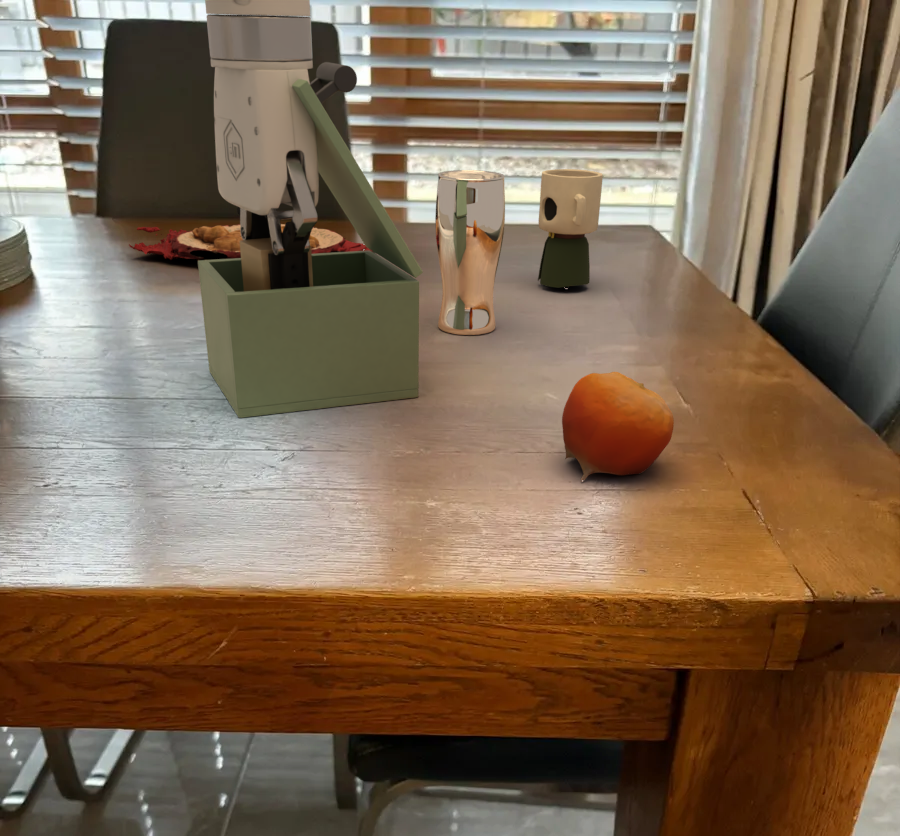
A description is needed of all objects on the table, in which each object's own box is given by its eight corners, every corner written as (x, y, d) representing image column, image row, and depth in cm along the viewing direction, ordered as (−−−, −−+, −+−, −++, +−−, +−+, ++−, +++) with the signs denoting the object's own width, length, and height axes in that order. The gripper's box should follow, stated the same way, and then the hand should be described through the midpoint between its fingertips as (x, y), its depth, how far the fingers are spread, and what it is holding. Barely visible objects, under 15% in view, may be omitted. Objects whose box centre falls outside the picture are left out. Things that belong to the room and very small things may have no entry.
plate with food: (295, 285, 118) (294, 256, 117) (129, 255, 127) (126, 227, 126) (389, 253, 137) (390, 227, 135) (238, 229, 146) (237, 204, 144)
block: (264, 307, 79) (260, 250, 77) (243, 294, 82) (239, 240, 80) (314, 300, 81) (311, 245, 79) (291, 289, 84) (288, 235, 82)
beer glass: (462, 340, 99) (467, 181, 92) (420, 325, 104) (421, 172, 96) (513, 329, 103) (521, 176, 95) (470, 315, 108) (475, 167, 100)
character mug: (525, 277, 124) (532, 166, 117) (579, 276, 125) (589, 166, 118) (545, 298, 115) (553, 179, 108) (603, 297, 116) (615, 179, 109)
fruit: (518, 437, 73) (575, 342, 71) (593, 477, 77) (650, 388, 75) (566, 479, 66) (631, 376, 64) (645, 520, 71) (709, 424, 68)
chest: (238, 418, 79) (227, 295, 74) (209, 371, 89) (197, 260, 84) (418, 397, 84) (419, 281, 79) (372, 355, 94) (370, 250, 89)
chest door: (298, 87, 69) (354, 43, 69) (257, 76, 79) (306, 38, 79) (415, 278, 79) (464, 240, 79) (366, 247, 89) (409, 213, 89)
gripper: (173, 41, 77) (199, 279, 86) (258, 50, 64) (278, 326, 74) (262, 41, 80) (278, 271, 90) (359, 50, 68) (365, 314, 77)
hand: (277, 293), depth 82 cm, fingers closed on block, 4 cm apart
